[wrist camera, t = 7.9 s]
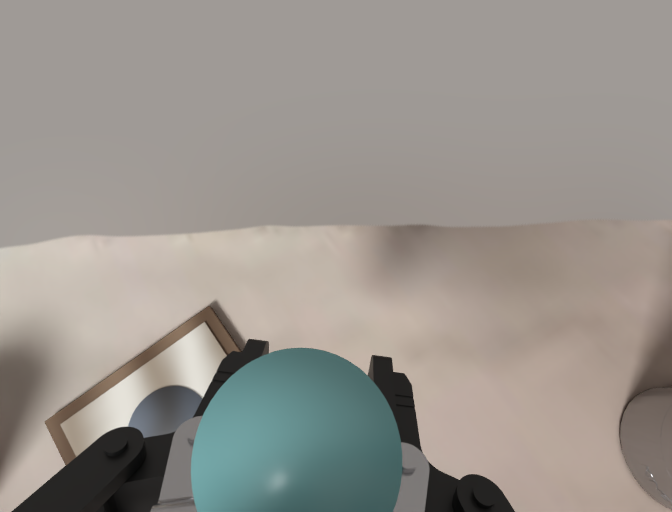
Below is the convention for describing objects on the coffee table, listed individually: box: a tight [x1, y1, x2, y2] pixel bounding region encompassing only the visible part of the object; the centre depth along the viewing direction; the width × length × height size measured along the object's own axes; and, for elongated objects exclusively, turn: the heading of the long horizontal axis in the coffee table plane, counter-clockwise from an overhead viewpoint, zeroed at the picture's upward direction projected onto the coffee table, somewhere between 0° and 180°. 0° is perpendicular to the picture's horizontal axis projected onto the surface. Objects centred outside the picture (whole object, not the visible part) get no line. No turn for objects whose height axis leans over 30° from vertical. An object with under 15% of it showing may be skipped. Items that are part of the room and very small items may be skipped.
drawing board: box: [45, 306, 241, 465], centre depth 29 cm, size 15×13×1 cm
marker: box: [191, 348, 402, 512], centre depth 13 cm, size 4×4×11 cm
